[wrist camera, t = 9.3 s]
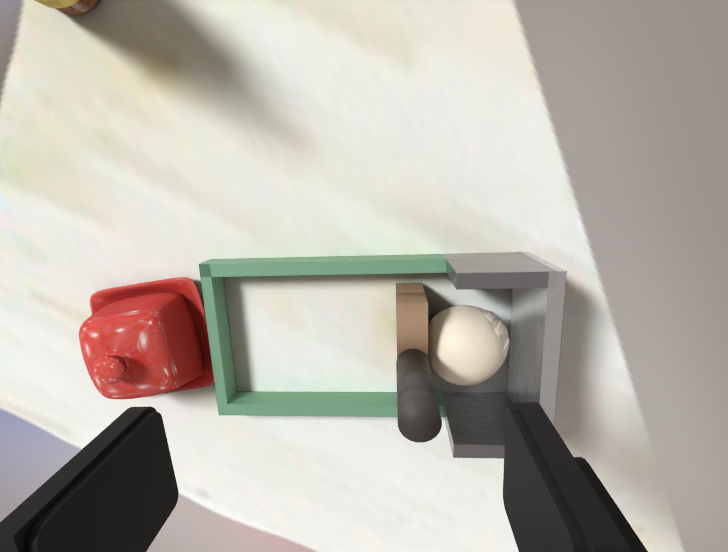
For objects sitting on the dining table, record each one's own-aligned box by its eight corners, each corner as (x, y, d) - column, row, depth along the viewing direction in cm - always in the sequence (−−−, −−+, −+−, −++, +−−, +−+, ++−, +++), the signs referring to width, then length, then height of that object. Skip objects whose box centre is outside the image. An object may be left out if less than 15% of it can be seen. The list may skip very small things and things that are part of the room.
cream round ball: (507, 348, 37) (532, 382, 31) (435, 372, 38) (444, 409, 32) (486, 284, 36) (506, 306, 30) (411, 310, 37) (415, 337, 31)
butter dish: (200, 271, 38) (147, 295, 30) (230, 378, 40) (188, 427, 32) (94, 289, 39) (14, 316, 31) (128, 391, 42) (63, 442, 33)
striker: (394, 283, 36) (396, 345, 22) (422, 283, 36) (442, 344, 22) (396, 381, 38) (399, 493, 24) (423, 381, 38) (441, 494, 24)
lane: (210, 259, 37) (198, 264, 35) (442, 254, 36) (446, 258, 33) (228, 401, 41) (218, 415, 38) (441, 403, 39) (444, 417, 37)
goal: (442, 254, 36) (456, 273, 28) (528, 252, 35) (566, 271, 27) (441, 403, 39) (453, 457, 31) (519, 403, 38) (550, 459, 31)
